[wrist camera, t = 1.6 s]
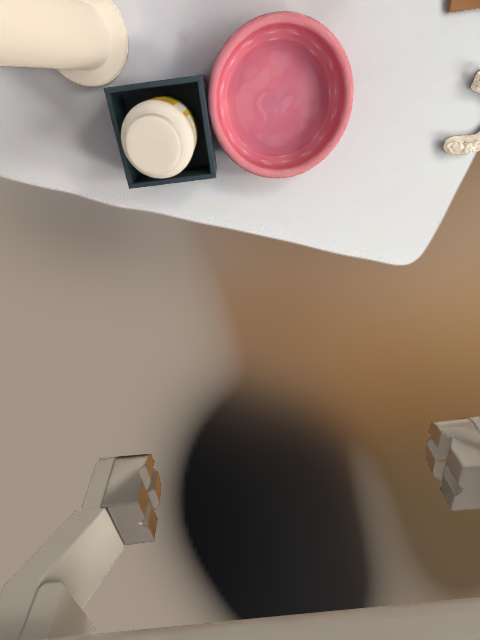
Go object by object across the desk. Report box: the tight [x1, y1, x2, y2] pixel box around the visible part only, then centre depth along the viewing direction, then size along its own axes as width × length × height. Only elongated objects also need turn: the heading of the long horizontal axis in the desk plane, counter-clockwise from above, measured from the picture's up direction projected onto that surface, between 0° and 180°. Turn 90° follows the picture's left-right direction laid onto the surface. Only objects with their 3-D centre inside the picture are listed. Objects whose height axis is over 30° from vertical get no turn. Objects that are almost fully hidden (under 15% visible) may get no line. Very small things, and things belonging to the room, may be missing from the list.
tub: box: [104, 75, 217, 189], centre depth 35 cm, size 8×8×5 cm
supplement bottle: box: [121, 95, 198, 179], centre depth 33 cm, size 6×6×10 cm
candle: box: [0, 0, 128, 87], centre depth 23 cm, size 7×7×25 cm
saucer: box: [208, 11, 354, 178], centre depth 35 cm, size 12×12×3 cm
